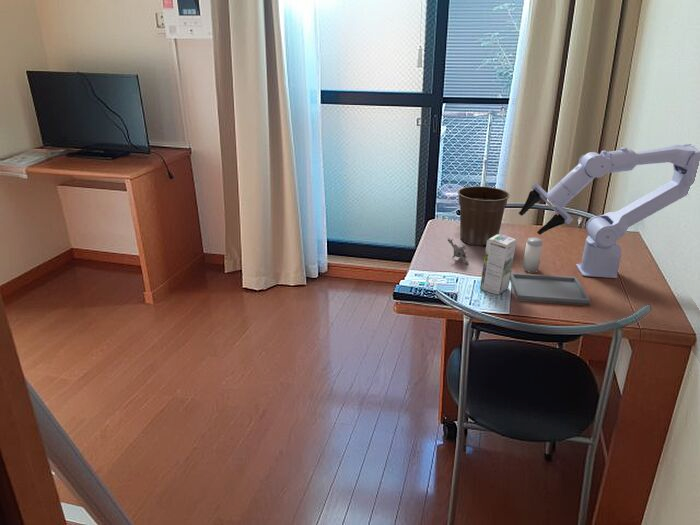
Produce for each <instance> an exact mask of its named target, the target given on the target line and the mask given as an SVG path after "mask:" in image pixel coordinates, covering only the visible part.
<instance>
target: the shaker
mask: <svg viewBox="0 0 700 525" xmlns="http://www.w3.org/2000/svg"><path fill="white" fill-rule="evenodd" d="M542 248H543V239H541V238H540V237H528V238H527V241H526V243H525V250H524V256H523V262H522V268H523V269H524V270H526V271H525V272H527V271H529V272H528V273H537V272H538V271H539V267H540V260H541V255H542V251H543V250H542ZM522 268H521V269H522ZM523 269H522V270H523ZM524 270H523V271H524ZM536 271H537V272H536Z"/></svg>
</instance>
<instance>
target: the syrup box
mask: <svg viewBox="0 0 700 525" xmlns="http://www.w3.org/2000/svg"><path fill="white" fill-rule="evenodd" d="M516 243H517V239H515V238H513V237H510V236H507V235H503V234H499V235H498V234H497V235H495V236H493V237H492V238H490V239H488V240H487V244H486V246H485V250H484V251H485V253H484V257H483V259H484V260H483V266H482V272H481V278H480V279H481V280H480V286H479V288H480V290H483V291H486V292H489V293H492V294H496V295H498V296H499V295H501V294H503V293H504V292H505V291H506V290H507V289H509V287H510V286H509V285H510V282H511V281H510V275H511V273H512V269H513V262H514V256H515V252H516V245H517V244H516Z"/></svg>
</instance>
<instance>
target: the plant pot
mask: <svg viewBox="0 0 700 525" xmlns="http://www.w3.org/2000/svg"><path fill="white" fill-rule="evenodd" d="M457 195H458V204H459V209H460V210H459V215H460V216H459V218H460V219H459V220H460V222H459V225H460V226H459V228H460V229H459V236H460V237H459V238H460V240H462V242H464V243H466V244H468V245H471V246H480V247H482V246H483V247H484V246H485V245H486V244H487V240H488V239H490V238H492V237H493V236H495V235H497V234H498V235H500V230H501V225H502V221H503V216H504V212H505V209H506V207H507V203H508V199H510V197H511V196H510V195H511V194H510V193H509V192H508V191H506V190H505V189H504V190H503V189H501V188H497V187H491V186H481V185H480V186H478V185H477V186H474V185H473V186H465V187H462V188H460V189H458V190H457Z"/></svg>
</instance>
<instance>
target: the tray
mask: <svg viewBox="0 0 700 525" xmlns="http://www.w3.org/2000/svg"><path fill="white" fill-rule="evenodd" d="M509 282H510V284H511V287H512V289H513V293H514V296H515V298H516V301H519V300H520V301H519V302H536V303H537V302H538V303H548V304H550V303H551V304H563V305H579V306H590V305H591V299H590V296H589V295H588V293H587V292H586V290H585V289H584V287H583V285H582V284H581V283H580V281H579V279H578V278H577V276H566V275H550V274H536V273H533V274H532V273H521V272H520V273H518V272H511V275H510V281H509Z"/></svg>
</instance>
